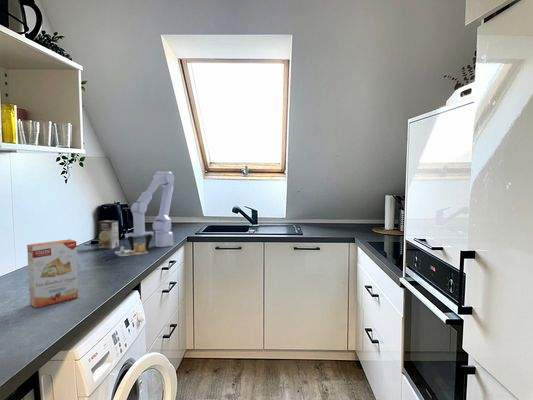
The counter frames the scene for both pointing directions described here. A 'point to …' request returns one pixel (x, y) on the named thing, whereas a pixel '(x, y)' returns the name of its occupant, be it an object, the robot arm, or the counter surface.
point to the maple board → (131, 253)
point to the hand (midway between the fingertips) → (139, 249)
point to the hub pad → (122, 253)
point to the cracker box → (52, 272)
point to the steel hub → (122, 249)
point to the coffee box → (108, 234)
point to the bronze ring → (139, 247)
